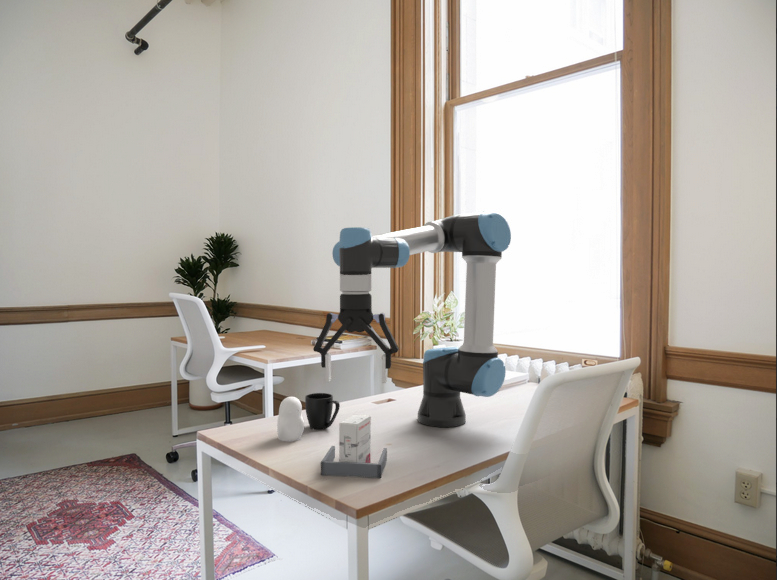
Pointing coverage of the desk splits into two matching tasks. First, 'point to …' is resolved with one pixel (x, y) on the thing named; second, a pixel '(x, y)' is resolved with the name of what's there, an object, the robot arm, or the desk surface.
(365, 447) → the ink box
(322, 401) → the mug
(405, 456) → the desk surface
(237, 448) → the desk surface
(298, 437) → the figurine
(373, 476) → the grey u-shaped frame
